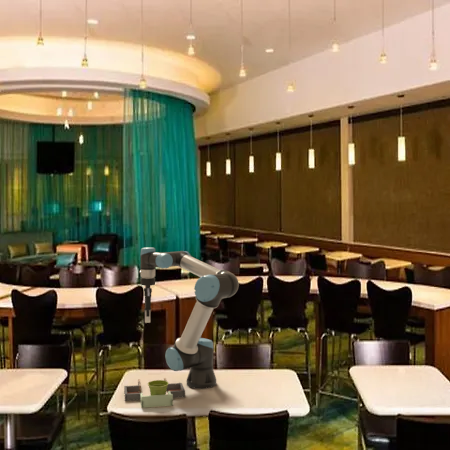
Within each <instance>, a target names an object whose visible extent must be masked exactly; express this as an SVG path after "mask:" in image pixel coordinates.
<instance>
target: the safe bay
mask: <svg viewBox="0 0 450 450" xmlns="http://www.w3.org/2000/svg"><path fill="white" fill-rule="evenodd" d="M140 393H141V394H140V400H139V401H140V402H139V403H140V407H141V409H143V408H144V409H145V408H160V407H173V406H174V404H173V403H174V402H173V401H174V398H173V394H171V392H170V391H168V390H167V393H166V395H151V394H150V395H143V392H140Z"/></svg>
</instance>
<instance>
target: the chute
mask: <svg viewBox="0 0 450 450" xmlns="http://www.w3.org/2000/svg"><path fill="white" fill-rule="evenodd" d="M163 380H164V381H167V382H168V380H167V378H166V377H163ZM137 385H140V386H139V393H142V382H141V379H137ZM166 391H168V390H167V389H166Z"/></svg>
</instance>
